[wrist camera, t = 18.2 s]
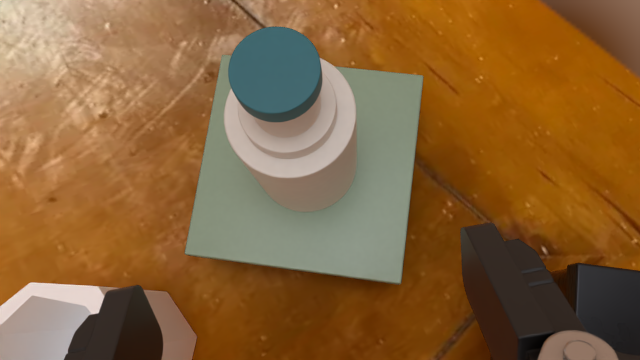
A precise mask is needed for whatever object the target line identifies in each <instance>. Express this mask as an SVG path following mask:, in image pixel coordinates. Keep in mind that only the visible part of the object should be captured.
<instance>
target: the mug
mask: <svg viewBox="0 0 640 360" xmlns="http://www.w3.org/2000/svg"><path fill="white" fill-rule="evenodd" d="M113 289H119V288H113V287H100V286H83V285H66V284H48V283H29V284H28V285H27V286H25V287H24V288H23V289H22V290H20V291H19V292H18V293H17V294H15V295H14V296H13V297H12V298H10V299H9V300H8V301H6V302H5V303H4V304H3V305H1V306H0V360H64V358H65V356H66V354H68V348H69V346H70V343H71V340H72V338H73V335H74V333H75V331H76V330H77V329H78V328H79V326H80V325H81V324H82V323H83V322H84V320H85V319H86V318H87V317H88V316H89V315H91V314H97V313H99V310H100V307H101V305H102V302H103V299H104V296H105V294H106V292H107V291H109V290H113ZM144 292H145V295H146V297H147V299H148V301H149V303H150V306H151V308H152V310H153V312H154V314H155V317H156V319H157V321H158V323H159V325H160V328H161V331H162V336H163V354H162V359H161V360H192V357H193V353H194V348H195V344H196V340H197V336H196V334H195V333H194V331H193V330H192V328H191V327H190V325H189V324H188V322H187V321H186V319H185V318H184V316H183V315H182V313H181V312H180V310H179V309H178V307H177V306H176V304H175V303H174V301H173V300H172V298H171V297H170V295H169V294H168V292H165V291H152V290H144Z"/></svg>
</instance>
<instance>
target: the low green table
mask: <svg viewBox="0 0 640 360" xmlns="http://www.w3.org/2000/svg"><path fill="white" fill-rule="evenodd" d="M230 58H231V56H229V55H222V58H221V64H220V69H219V74H218V79H217V85H216V90H215V95H214V100H213V106H212V111H211V116H210V122H209V127H208V132H207V137H206V143H205V148H204V153H203V159H202V164H201V169H200V174H199V180H198V185H197V190H196V196H195V201H194V206H193V211H192V217H191V222H190V227H189V233H188V238H187V243H186V248H185V254H186V255H189V256H195V257H202V258H210V259H217V260H224V261H231V262H238V263H246V264H253V265H260V266H267V267H275V268H282V269H289V270H296V271H303V272H311V273H318V274H325V275H332V276H340V277H347V278H354V279H361V280H369V281H376V282H383V283H390V284H397V285H399V284H401V281H402V272H403V262H404V253H405V244H406V235H407V225H408V216H409V207H410V197H411V188H412V179H413V170H414V160H415V151H416V142H417V132H418V123H419V114H420V104H421V95H422V86H423V76H422V75H412V74H403V73H393V72H383V71H374V70H364V69H355V68H345V67H335V66H334V67H335V68H336V69H337V70H338V71H339V72H340V73H341V74H342V75H343V76H344V78H345V79H346V80H347V82H348V84H349V85H350V87H351V89H352V92H353V95H354V98H355V103H356V117H357V164H356V172H355V177H354V179H353V182H352V184H351V186H350V188H349V189H348V191H347V192H346V193H345V194H344V196H343V197H342V198H341V199H339V200H338V201H337V202H336V203H334V204H333V205H331V206H329V207H327V208H325V209H322V210H318V211H313V212H299V211H294V210H291V209H288V208H285V207H283V206H281V205H280V204H278V203H277V202H275V201H274V200H273V199H272V198H271V197H270V196H269V195H268V194H267V192H266V191H265V190H264V189H263V187H262V186H261V185H260V183H259V182H258V181H257V180H256V178H255V177H254V176H253V175H252V173H251V172H250V171H249V170H248V168H247V167H246V166H245V164H244V163H243V162H242V161H241V159H240V158H239V157H238V156H237V154H236V153H235V151H234V150H233V148H232V147H231V145H230V143H229V141H228V138H227V135H226V132H225V126H224V109H225V104H226V100H227V97H228V94H229V92H230V90H231V86H230V83H229V78H228V67H229V62H230Z"/></svg>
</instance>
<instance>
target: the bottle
mask: <svg viewBox="0 0 640 360" xmlns="http://www.w3.org/2000/svg"><path fill="white" fill-rule="evenodd" d="M228 78H229V83H230V86H231V90H230V92H229V94H228V97H227V100H226V104H225V109H224V126H225V132H226V135H227V138H228V141H229V143H230V145H231V147H232V148H233V150H234V151H235V153H236V154H237V156H238V157H239V158H240V159H241V161H242V162H243V163H244V164H245V166H246V167H247V168H248V170H249V171H250V172H251V173H252V175H253V176H254V177H255V178H256V180H257V181H258V182H259V183H260V185H261V186H262V187H263V189H264V190H265V191H266V192H267V194H268V195H269V196H270V197H271V198H272V199H273V200H274V201H275V202H277V203H278V204H280V205H281V206H283V207H285V208H288V209H291V210H294V211H299V212H313V211H318V210H322V209H325V208H327V207H329V206H331V205H333V204H334V203H336V202H337V201H338V200H339V199H341V198H342V197H343V196H344V194H345V193H346V192H347V191H348V189H349V188H350V186H351V184H352V182H353V179H354V177H355V172H356V164H357V117H356V103H355V98H354V95H353V92H352V89H351V87H350V85H349V84H348V82H347V80H346V79H345V78H344V76H343V75H342V74H341V73H340V72H339V71H338V70H337V69H336V68H335V67H334V66H333V65H331V64H330V63H328V62H327V61H325V60H323V59H321V58H320V57H319V55H318V52H317V50H316V48H315V46H314V45H313V44H312V42H311V41H310V40H309V39H308V38H307V37H305V36H304V35H303V34H301V33H299V32H297V31H295V30H293V29H290V28H285V27H268V28H263V29H260V30H257V31H255V32H253V33H251V34H250V35H248V36H247V37H246V38H244V39H243V40H242V41H241V42H240V43H239V44H238V46H237V47H236V48H235V50H234V52H233V54H232V56H231V58H230V62H229V67H228Z"/></svg>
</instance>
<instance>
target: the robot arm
mask: <svg viewBox="0 0 640 360" xmlns="http://www.w3.org/2000/svg"><path fill="white" fill-rule="evenodd" d="M461 254H462V275H463V282H464V287H465V291H466V294H467V297H468V300H469V303H470V305H471V307H472V310H473V312H474V314H475V317H476V319H477V321H478V324H479V326H480V329H481V331H482V333H483V336H484V338H485V340H486V343H487V345H488V347H489V350H490V352H491V355H492V357H493V359H494V360H640V356H639V355H631V354H625V353H621V352H618V351H615V350H613V349H612V347H611V346H610V345H609V344H608V343H606V342H605V341H604V340H602V339H601V338H599V337H597V336H595V335H593V334H590V333H588V332H587V331H586V329H585V328H584V326H583V325H582V323H581V322H580V320H579V319H578V317H577V315H576V314H575V312H574V311H573V309H572V307H571V306H570V304H569V303H568V301H567V300H566V298H565V296H564V295H563V293H562V292H561V290H560V289H559V287H558V285H557V284H556V283H554V279H553V277H552V276H551V274H550V273H549V271H548V270H546V266H545V265H544V263H543V262H542V260H541V259H540V257H539V255H538V254H537V252H536V251H535V250H534V249H532V248H531V247H529V246H528V245H526V244H525V243H524V242H522V241H521V240H519V239H515V240H510V241H504V240H503V239H502V237H501V235H500V233H499V232H498V230H497V228H496V226H495V225H494V224H493V223H492V222H490V223H485V224H479V225H474V226H468V227H462V228H461ZM162 354H163V336H162V331H161V328H160V325H159V323H158V321H157V319H156V317H155V314H154V312H153V310H152V308H151V306H150V303H149V301H148V299H147V297H146V295H145V292H144V290H143V289H142V287H141V286H139V285H135V286H130V287H124V288H119V289H113V290H109V291H107V292H106V294H105V296H104V299H103V302H102V305H101V307H100V310H99V313H97V314H91V315H89V316H88V317H87V318H86V319H85V320H84V322H83V323H82V324H81V325H80V326H79V328H78V329H77V330H76V331H75V333H74V335H73V338H72V340H71V343H70V346H69V348H68V354H66V356H65V358H64V360H161V359H162Z"/></svg>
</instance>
